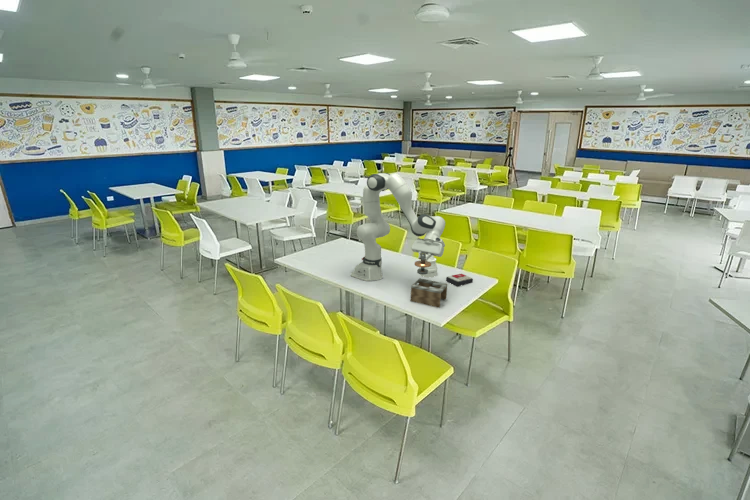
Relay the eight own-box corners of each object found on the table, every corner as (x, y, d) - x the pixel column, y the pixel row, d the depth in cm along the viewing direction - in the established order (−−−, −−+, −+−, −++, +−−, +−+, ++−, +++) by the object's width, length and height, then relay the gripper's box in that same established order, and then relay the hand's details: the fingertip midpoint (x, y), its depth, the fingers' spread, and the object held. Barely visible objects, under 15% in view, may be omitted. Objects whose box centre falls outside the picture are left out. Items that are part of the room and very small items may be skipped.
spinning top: (411, 273, 229) (412, 255, 226) (417, 268, 238) (418, 251, 235) (427, 276, 225) (428, 257, 222) (433, 271, 234) (433, 253, 231)
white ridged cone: (436, 278, 267) (438, 253, 262) (418, 276, 270) (419, 252, 264) (437, 272, 279) (439, 248, 274) (419, 270, 282) (421, 247, 276)
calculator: (473, 277, 261) (458, 280, 252) (472, 283, 262) (457, 287, 254) (461, 272, 269) (446, 275, 261) (460, 278, 271) (445, 281, 262)
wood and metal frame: (410, 301, 230) (411, 285, 227) (418, 292, 242) (419, 278, 239) (439, 307, 222) (440, 291, 219) (446, 298, 234) (447, 283, 231)
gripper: (414, 235, 237) (405, 253, 232) (444, 240, 225) (436, 259, 221) (418, 240, 242) (409, 258, 237) (447, 245, 230) (439, 265, 225)
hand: (422, 259), depth 229 cm, fingers closed on spinning top, 3 cm apart
